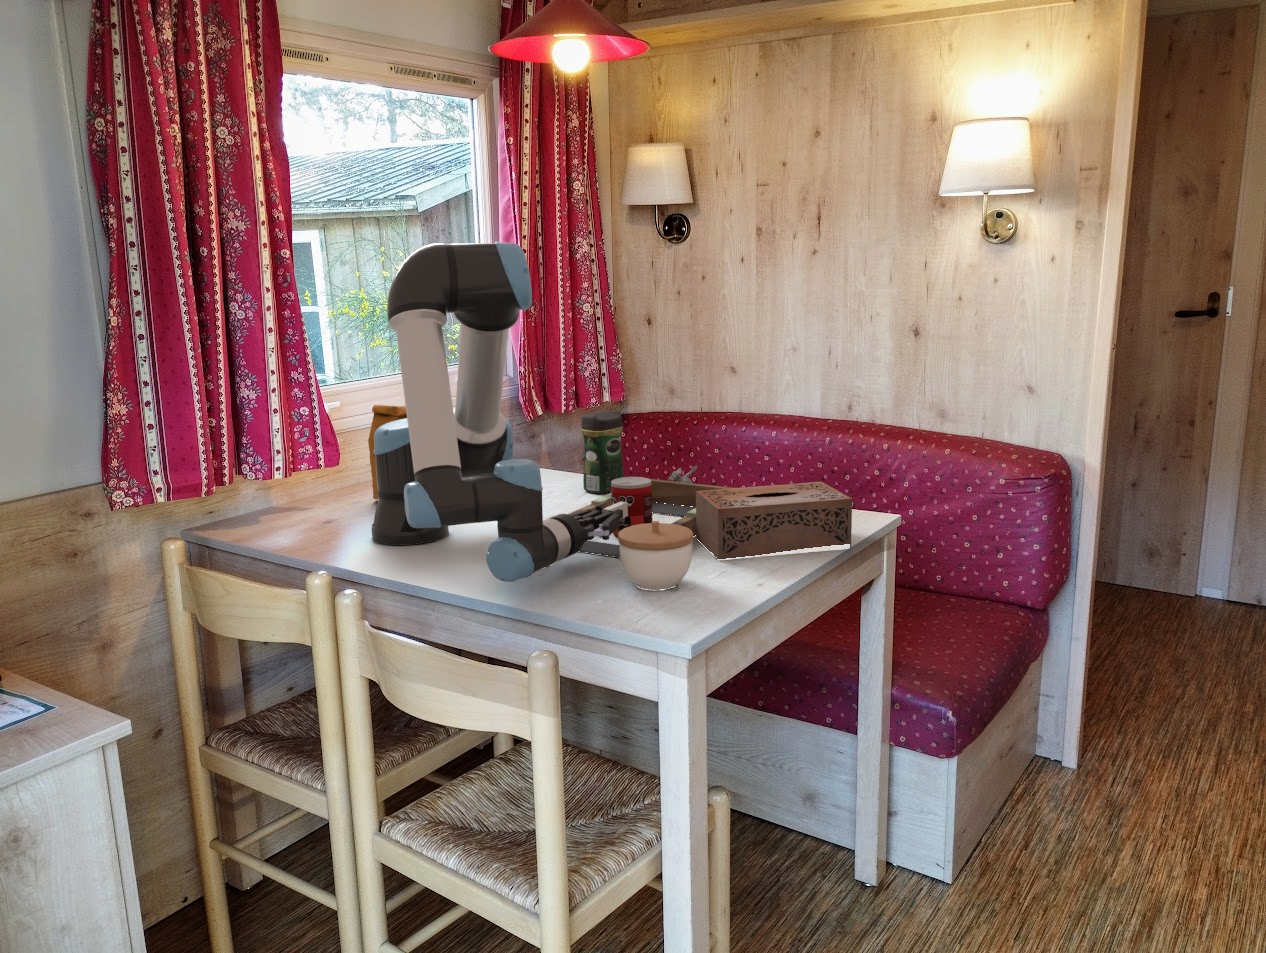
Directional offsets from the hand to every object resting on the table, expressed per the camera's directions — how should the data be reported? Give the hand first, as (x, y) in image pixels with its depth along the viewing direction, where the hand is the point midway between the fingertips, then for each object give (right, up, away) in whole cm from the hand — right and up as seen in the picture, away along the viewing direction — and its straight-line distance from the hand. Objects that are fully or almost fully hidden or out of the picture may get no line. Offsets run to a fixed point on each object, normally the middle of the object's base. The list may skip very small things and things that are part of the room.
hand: (624, 508), depth 201 cm
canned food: (+2, -6, +5) cm, 8 cm away
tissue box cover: (+28, -7, -3) cm, 29 cm away
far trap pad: (+11, -1, +22) cm, 25 cm away
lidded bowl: (+6, -12, -25) cm, 28 cm away
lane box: (+4, -4, +10) cm, 12 cm away
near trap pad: (-4, -8, -4) cm, 10 cm away
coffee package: (-51, +1, +38) cm, 64 cm away
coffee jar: (-5, +3, +43) cm, 44 cm away
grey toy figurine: (+14, +2, +36) cm, 39 cm away
